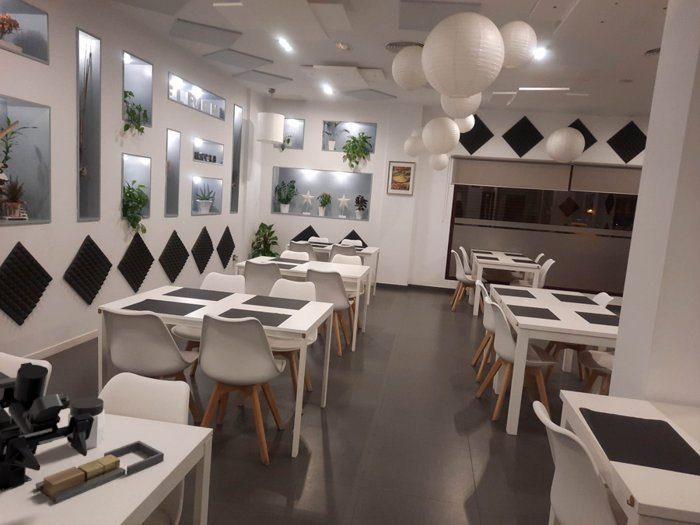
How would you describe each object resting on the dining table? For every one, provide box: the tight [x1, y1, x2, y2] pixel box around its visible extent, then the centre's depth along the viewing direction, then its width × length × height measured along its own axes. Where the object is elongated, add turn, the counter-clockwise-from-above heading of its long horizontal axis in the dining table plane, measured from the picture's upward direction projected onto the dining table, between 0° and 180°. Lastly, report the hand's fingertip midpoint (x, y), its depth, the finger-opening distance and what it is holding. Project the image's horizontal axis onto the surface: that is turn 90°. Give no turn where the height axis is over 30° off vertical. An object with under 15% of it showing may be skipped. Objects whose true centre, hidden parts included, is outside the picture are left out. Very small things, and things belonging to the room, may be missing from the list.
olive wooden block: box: [77, 459, 104, 482], centre depth 121 cm, size 4×4×3 cm
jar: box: [66, 396, 106, 450], centre depth 138 cm, size 9×8×12 cm
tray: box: [103, 440, 165, 476], centre depth 131 cm, size 11×10×3 cm
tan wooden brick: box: [42, 466, 85, 497], centre depth 116 cm, size 4×7×3 cm, turn 146°
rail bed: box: [35, 467, 127, 504], centre depth 119 cm, size 9×16×2 cm, turn 147°
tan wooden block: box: [95, 454, 121, 475], centre depth 125 cm, size 4×4×3 cm
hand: (63, 461), depth 102 cm, fingers open, 9 cm apart
